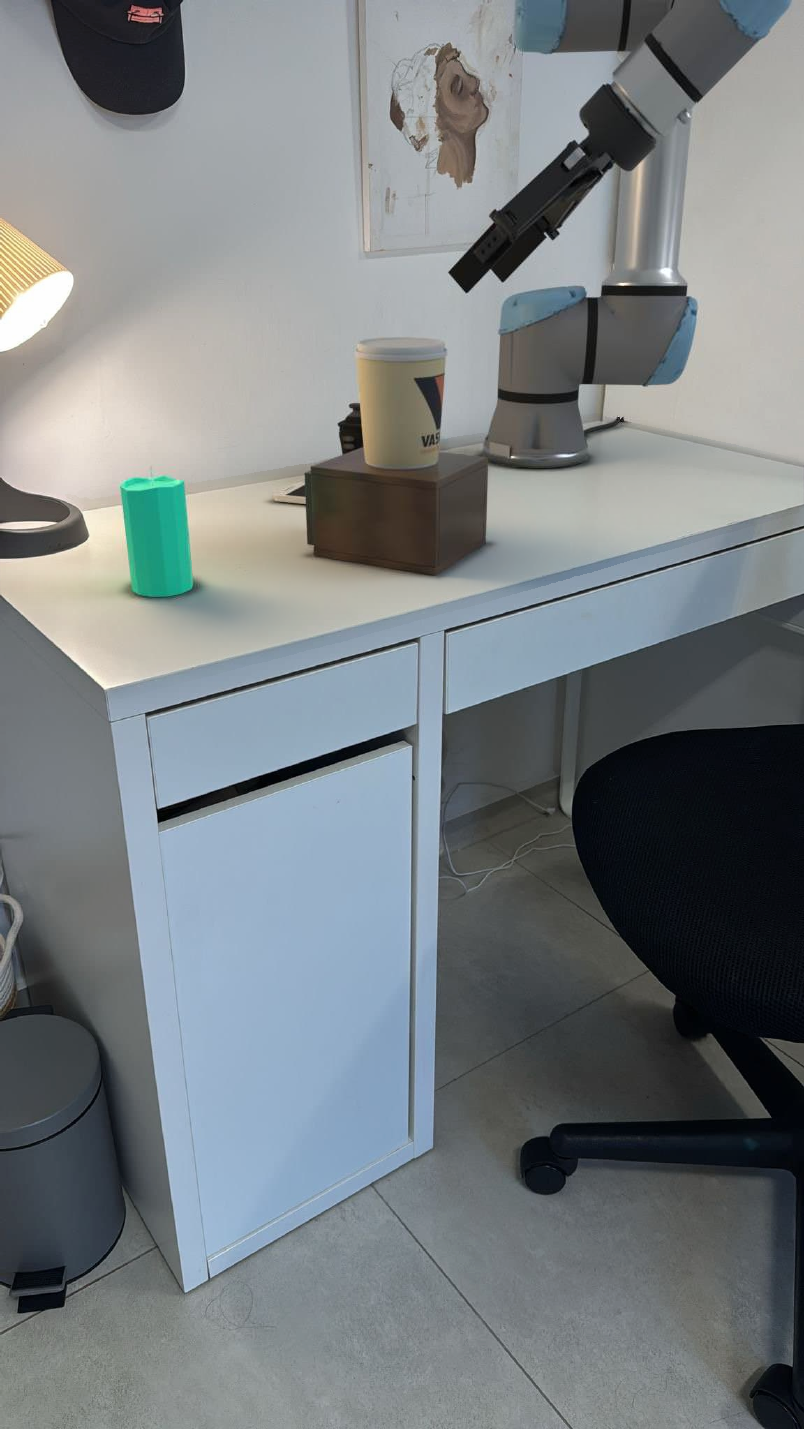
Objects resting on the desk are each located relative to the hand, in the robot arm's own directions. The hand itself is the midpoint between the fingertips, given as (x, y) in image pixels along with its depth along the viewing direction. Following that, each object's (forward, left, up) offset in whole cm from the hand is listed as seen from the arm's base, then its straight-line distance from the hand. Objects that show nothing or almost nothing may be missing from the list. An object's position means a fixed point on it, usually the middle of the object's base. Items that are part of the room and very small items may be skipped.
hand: (477, 277), depth 114 cm
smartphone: (+3, -21, -27) cm, 34 cm away
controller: (-9, -30, -27) cm, 41 cm away
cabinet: (+11, 0, -27) cm, 29 cm away
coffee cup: (+11, 0, -18) cm, 21 cm away
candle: (+37, -6, -27) cm, 46 cm away
